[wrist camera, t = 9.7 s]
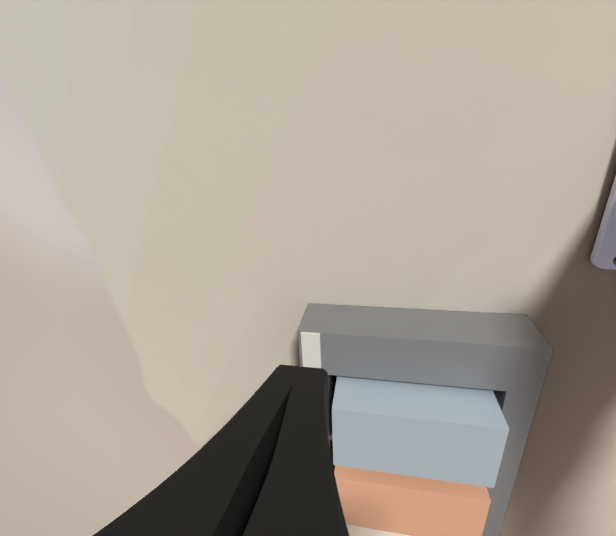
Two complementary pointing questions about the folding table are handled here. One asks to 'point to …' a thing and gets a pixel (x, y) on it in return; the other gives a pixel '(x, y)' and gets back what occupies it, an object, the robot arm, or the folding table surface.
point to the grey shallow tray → (437, 364)
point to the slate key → (418, 430)
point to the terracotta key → (411, 503)
